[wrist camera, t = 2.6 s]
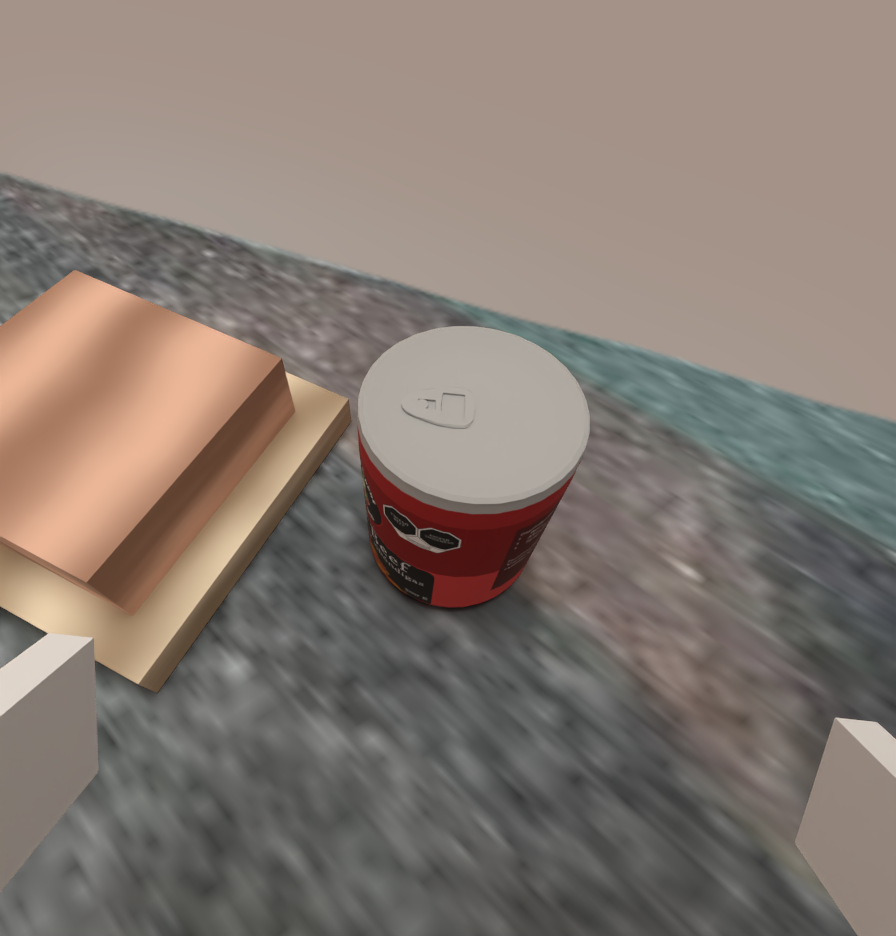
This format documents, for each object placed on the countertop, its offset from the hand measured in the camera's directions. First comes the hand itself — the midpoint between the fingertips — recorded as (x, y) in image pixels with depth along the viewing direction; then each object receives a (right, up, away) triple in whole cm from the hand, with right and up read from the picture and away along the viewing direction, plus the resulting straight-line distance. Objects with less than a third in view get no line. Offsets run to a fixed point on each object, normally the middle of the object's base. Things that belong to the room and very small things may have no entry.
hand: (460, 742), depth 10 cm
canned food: (0, +1, +18) cm, 18 cm away
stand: (-16, +5, +19) cm, 25 cm away
